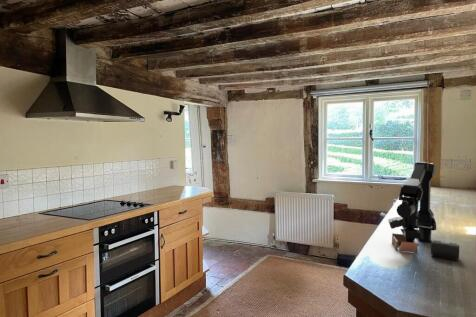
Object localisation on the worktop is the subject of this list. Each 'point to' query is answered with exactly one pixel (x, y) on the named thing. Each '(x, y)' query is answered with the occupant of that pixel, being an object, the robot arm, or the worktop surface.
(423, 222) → the robot arm
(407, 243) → the salmon pink flat panel
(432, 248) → the end cap
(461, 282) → the worktop surface
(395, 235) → the brown wooden open frame
